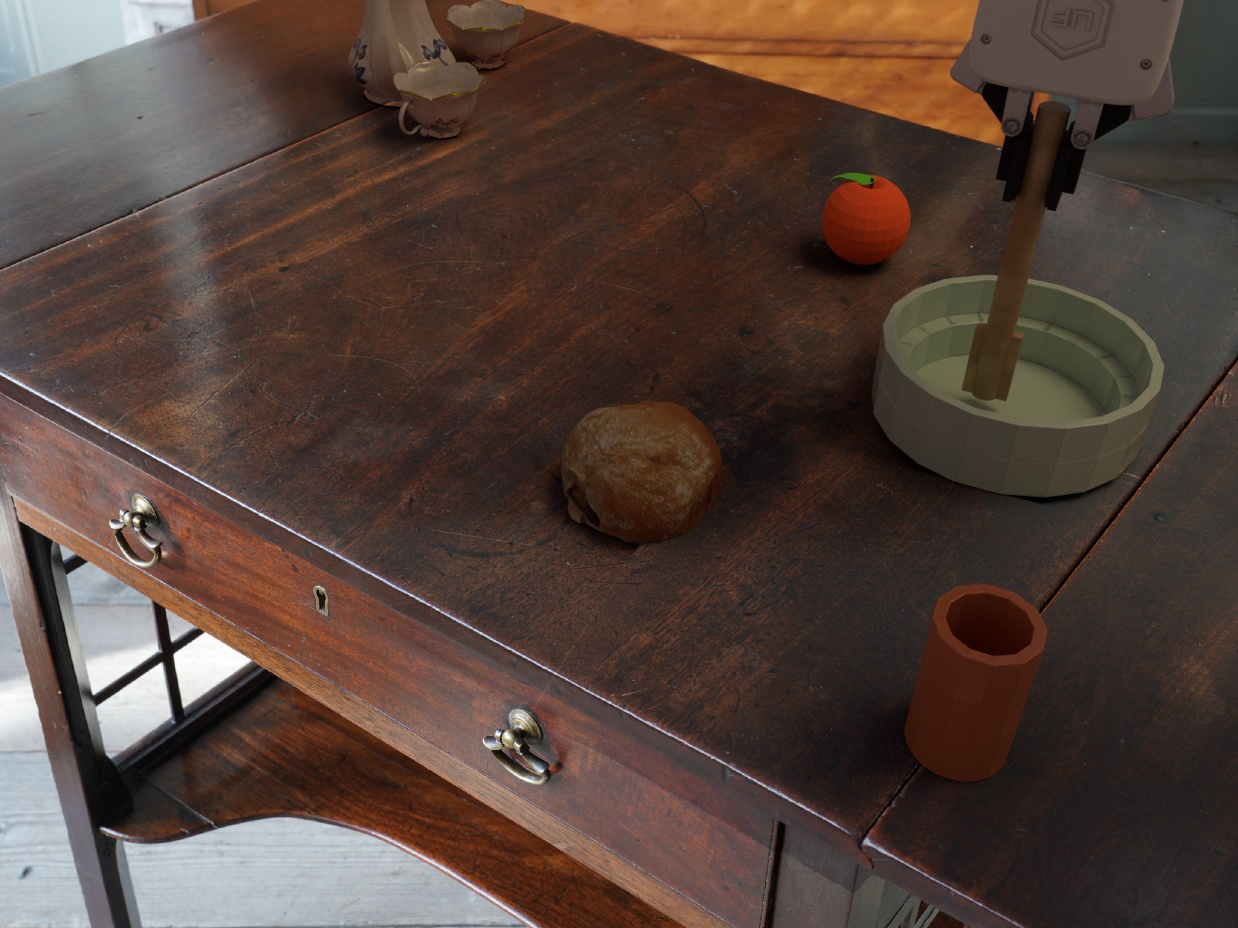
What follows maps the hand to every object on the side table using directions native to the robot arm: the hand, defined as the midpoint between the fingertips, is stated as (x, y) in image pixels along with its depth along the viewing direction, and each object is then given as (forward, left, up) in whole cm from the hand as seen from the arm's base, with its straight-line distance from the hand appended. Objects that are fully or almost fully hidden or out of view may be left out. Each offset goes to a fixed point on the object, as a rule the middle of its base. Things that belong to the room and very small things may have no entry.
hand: (1033, 194), depth 72 cm
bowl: (-1, 0, -16) cm, 16 cm away
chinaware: (+61, -31, -16) cm, 71 cm away
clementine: (+13, -17, -16) cm, 27 cm away
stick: (0, 0, -15) cm, 15 cm away
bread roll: (+18, +17, -16) cm, 29 cm away
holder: (-5, +29, -16) cm, 33 cm away
